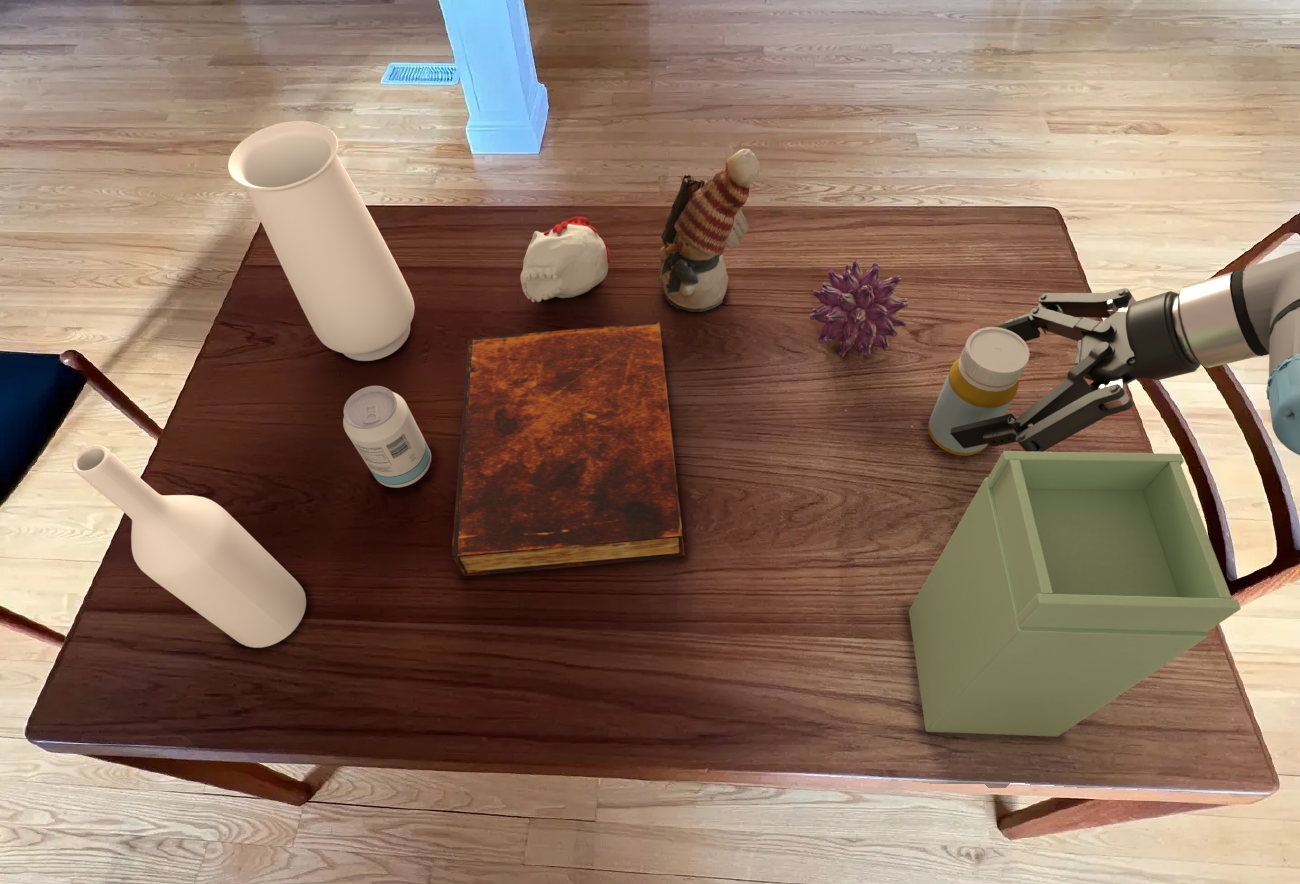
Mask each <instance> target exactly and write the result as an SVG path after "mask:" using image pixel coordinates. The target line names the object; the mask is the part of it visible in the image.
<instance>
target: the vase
mask: <svg viewBox="0 0 1300 884" xmlns="http://www.w3.org/2000/svg"><path fill="white" fill-rule="evenodd" d="M339 146H340V145H339V139H338V137H337V135H336V134H335V132H334V131H333V130H332V129H330V128H329V127H327V125H324V124H321V123H318V122H315V121H309V120H290V121H285V122H279V123H275V124H271V125H268V126H266V127H264V128H262V129H260V130H259V129H258V130H257V131H255V132H253V133H251V134H250V135H249V136H247V137H246V138H244V139H243V140H242V141H241V142H239V144H237V146H236V147H235V148H234V149H233V151H232V153H231V154H230V156H229V159H228V163H227V169H228V174H229V176H230V177H231V179H232V180H233V181H234V182H235V183H236V184H238V185H239V186H241V187H243V188H245V190H246V192H247V194H248V197H249V199H250V200H251V204H252V205H253V208H254V210H255V212H256V214H257V216H258V219H259V221H260V223H261V225H262V227H263V229H264V231H265V233H266V236H267V238H268V240H269V242H270V245H271V246H272V248H273V251H274V253H275V255H276V257H277V259H278V261H279V263H280V266H281V268H282V270H283V272H284V275H285V276H286V278H287V280H288V282H289V285H290V286H291V289H292V290H293V292H294V296H295V297H296V299H297V301H298V303H299V305H300V307H301V309H302V311H303V313H304V315H305V317H306V320H307V321H308V323H309V324H310V326H311V328H312V330H313V332H314V333H315V335H316V337H317V338H318V339H319V342H321V343H322V344H323V345H324V346H326V347H327V348H328V349H330V350H331V351H335V352H337V353H341V354H342V355H344V356H345V357H347V358H349V359H352V360H354V361H358V362H370V361H376V360H380V359H383V358H385V357H388V356H390V355H392V354H393V353H395V352H396V351H398V350H399V349H400V348H401V347H402V346H403V345H404V344H405V342H406V341H407V339H408V338H409V336H410V332H411V324H412V321H413V319H414V316H415V308H416V307H415V301H414V297H413V294H412V292H411V290H410V288H409V286H408V284H407V282H406V280H405V278H404V276H403V274H402V272H401V270H400V268H399V266H398V264H397V262H396V260H395V258H394V256H393V255H392V252H391V251H390V248H389V247H388V244H387V243H386V241H385V239H384V238H383V236H382V234H381V232H380V229H379V228H378V227H377V224H376V222H375V221H374V219H373V217H372V215H371V213H370V212H369V209H368V207H367V206H366V204H365V202H364V201H363V198H362V197H361V195H360V193H359V191H358V190H357V188H356V186H355V184H354V183H353V181H352V179H351V177H350V175H349V173H348V172H347V170H346V168H345V166H344V164H343V163H342V161H341V159H340V157H339V155H338V153H339V148H340V147H339Z"/></svg>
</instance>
